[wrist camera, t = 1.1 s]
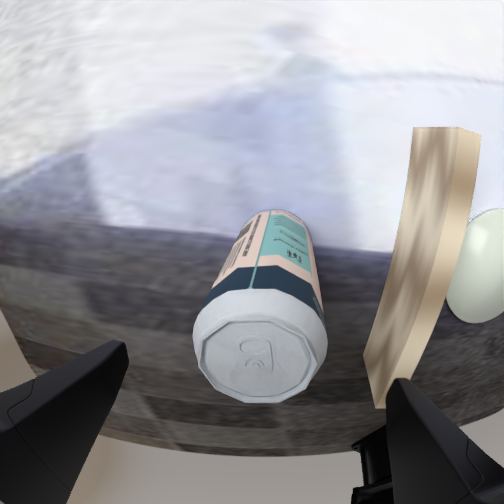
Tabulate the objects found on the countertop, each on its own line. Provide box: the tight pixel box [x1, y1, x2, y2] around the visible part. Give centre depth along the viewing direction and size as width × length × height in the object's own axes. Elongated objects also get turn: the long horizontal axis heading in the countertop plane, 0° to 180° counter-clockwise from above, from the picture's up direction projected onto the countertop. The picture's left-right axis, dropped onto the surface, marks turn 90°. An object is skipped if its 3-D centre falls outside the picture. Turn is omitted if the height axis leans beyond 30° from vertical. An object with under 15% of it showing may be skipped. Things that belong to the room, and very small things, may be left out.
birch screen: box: [363, 127, 481, 408], centre depth 17 cm, size 18×2×6 cm, turn 176°
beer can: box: [193, 209, 328, 403], centre depth 15 cm, size 5×5×12 cm
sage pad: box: [445, 208, 504, 323], centre depth 19 cm, size 10×10×1 cm
